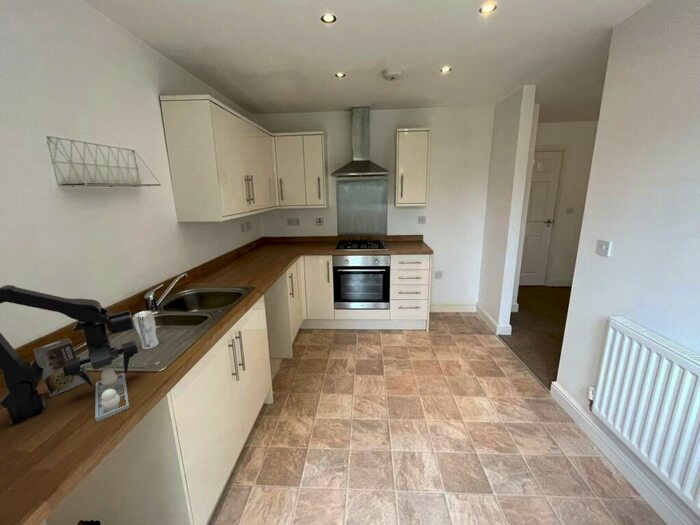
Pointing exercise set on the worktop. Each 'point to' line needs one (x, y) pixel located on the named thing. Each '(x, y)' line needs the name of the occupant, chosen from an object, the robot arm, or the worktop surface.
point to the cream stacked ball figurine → (109, 378)
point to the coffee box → (57, 366)
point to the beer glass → (146, 329)
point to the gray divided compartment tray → (121, 382)
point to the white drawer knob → (110, 400)
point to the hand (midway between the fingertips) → (109, 379)
